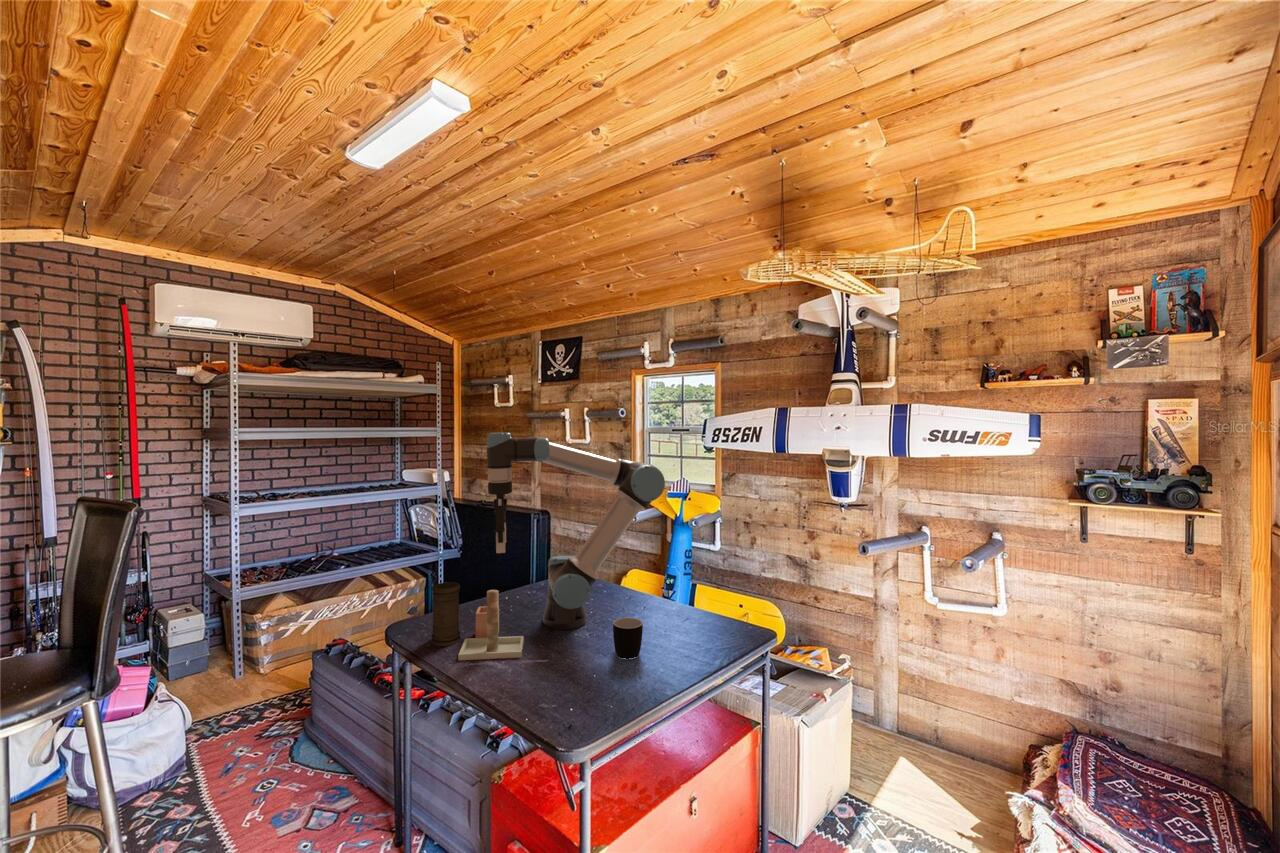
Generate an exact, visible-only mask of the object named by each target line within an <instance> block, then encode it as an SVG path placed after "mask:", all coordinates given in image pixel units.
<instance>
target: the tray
mask: <svg viewBox="0 0 1280 853" xmlns="http://www.w3.org/2000/svg"><path fill="white" fill-rule="evenodd" d="M524 640H525V637H524V635H519V636H517V635H515V636H498V651H496V652H487V638H476V637H474V638H473V637H471V638H470V637H469V638H464V641H463V644H462V645H461V647H460V650H459V652H458V658H457V659H458V661H472V660H473V661H474V660H475V661H476V660H492V659H513V658H516V659H517V658H522V653H523V649H524V643H525V642H524Z"/></svg>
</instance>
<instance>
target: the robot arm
mask: <svg viewBox="0 0 1280 853" xmlns="http://www.w3.org/2000/svg"><path fill="white" fill-rule="evenodd" d="M486 437H487V438H486V459H487V461H486V462H487V466H486V467H487V470H486V471H485V475H487V480H488V482H487V493H488V495H492V496H493V495H495V497H496V498H494V499H493V506H494V513H495V529H493V533H495V550H496V552H495V553H496V554H505V553H506V543H507V523H508V522H509V520H508V518H507V517H506V512H507V505H508V501H507V500H508V498H506V495H510V494H511V493H513V481H512V480H513V467H512V466H513V465H512V463H520V462H521V463H523V462H538V463H539V462H540V463H543V464H547V465H550V466H555V467H559V468H560V469H561V468H562V469H565V470H568V471H573V472H577V473H580V474H584V475H586V476H591V477H594V478H598V479H602V480H605V481H608V482H609V483H610V484H611V485H613V486H616V487H618V488H617V494H618V496H617V498H616V499H615V500H614V502H613V503H612V505H611V506H610V508H609V509H608V510H607V511H606V513H605V515H604V516H603V518H602V519H601V520H600V521H599V523H598V525H597V526H596V527H595V528H594V530H593V531H592V532H591V534H590V535H589V536H588V538H587V540H586V541H585V542H584V544H583V545H582V547H581V548H580V549H579V550H578V552H577V554H576V555H557V556H552V557H550V558H549V559H548V565H547V568H548V576H547V577H548V578H547V579H548V581H547V582H548V583H547V584H548V586H547V587H548V588H547V590H548V591H547V603H546V605H545V609H544V611H543V616H542V623H543V625H545V626H546V627H549V628H550V629H553V630H572V629H576V628H580V627H582V626H584V625H585V624H586V622H587V612H586V610H585V607H584V604H585V603H586V602H587V601H588V599H589V597H590V593H591V589H592V587H593V585H594V584H595V583H596V581H597V580H598V577H599V576H598V571H599V569H600V567H601V566H602V565H603V563H604V562H605V561H606V559H607V557H608V556H609V554H610V553H611V552H612V550H613V549H614V547H616V545H617V544H618V542H619V541H620V539H621V538H622V536H623V535H624V533H625V532H626V530H627V529H628V528H629V526H630V525H631V523H632V522H633V521H634V519H635V518H636V516H637V515H638V514H639V512H643V511H646V510H647V508H648V507H650V506H649V505H651V503H652V502H653V501H656V500H658V499H659V498H660V497H661V495H662V494H663V493H664V491H665V488H666V480H665V476H664V474H663V473H662V472H663V471H661V470H660V469H659V468H658V467H657V466H655V465H653V464H650V463H645V462H642V461H633V460H626V459H622V458H616V459H612V458H608V457H604V456H603V455H602V456H601V455H597V454H594V453H590V452H586V451H584V450H580V449H578V448H577V449H576V448H572V447H569V446H565V445H562V444H559V443H554V442H551V441H550V440H549V439H548V438H547V437H535V436H531V435H529V436H528V435H527V436H524V437H523V438H514V437H512V434H511V432H490V433H489V434H488V435H487V436H486Z"/></svg>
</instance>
